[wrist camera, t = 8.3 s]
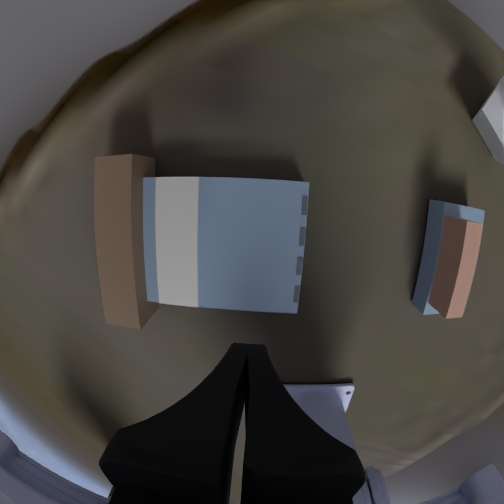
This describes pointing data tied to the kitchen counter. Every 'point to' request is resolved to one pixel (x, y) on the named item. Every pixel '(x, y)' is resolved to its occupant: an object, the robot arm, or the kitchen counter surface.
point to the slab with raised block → (448, 258)
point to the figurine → (493, 122)
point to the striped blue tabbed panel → (195, 241)
